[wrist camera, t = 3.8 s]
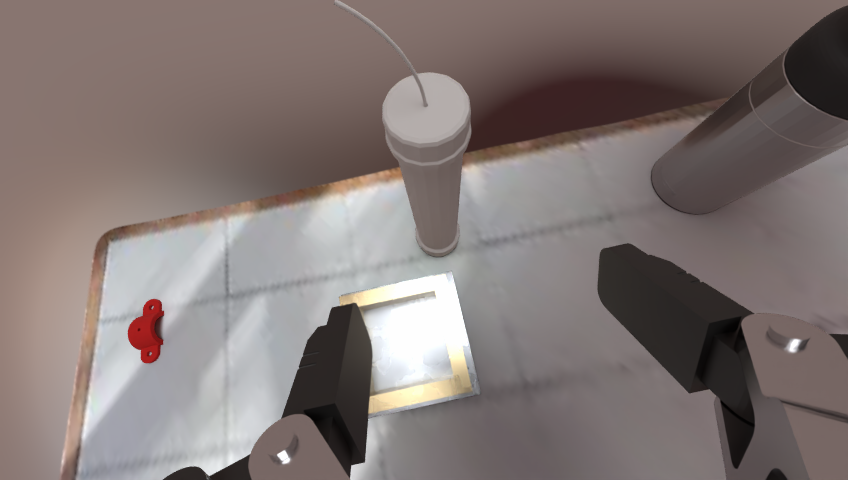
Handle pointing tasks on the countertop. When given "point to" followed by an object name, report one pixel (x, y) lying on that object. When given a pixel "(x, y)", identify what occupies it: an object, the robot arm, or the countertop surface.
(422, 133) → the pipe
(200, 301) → the countertop surface
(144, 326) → the pipe clamp
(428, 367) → the socket
